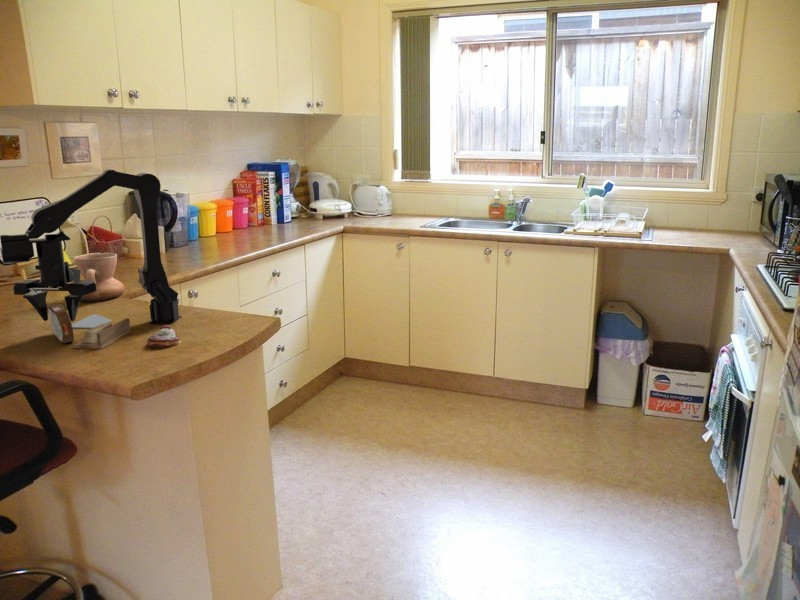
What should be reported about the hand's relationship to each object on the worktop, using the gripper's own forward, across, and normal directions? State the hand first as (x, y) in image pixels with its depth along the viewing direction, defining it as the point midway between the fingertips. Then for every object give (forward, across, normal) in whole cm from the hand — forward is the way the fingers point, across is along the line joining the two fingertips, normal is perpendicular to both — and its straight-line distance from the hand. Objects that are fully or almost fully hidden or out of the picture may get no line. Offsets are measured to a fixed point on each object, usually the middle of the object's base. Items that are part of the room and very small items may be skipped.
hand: (59, 320), depth 165 cm
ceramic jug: (+5, +14, -42) cm, 44 cm away
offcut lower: (+4, -10, 0) cm, 11 cm away
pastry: (+5, -28, +3) cm, 29 cm away
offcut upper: (+3, -10, 0) cm, 10 cm away
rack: (+5, -11, 0) cm, 12 cm away
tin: (+5, 0, 0) cm, 5 cm away
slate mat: (+5, 0, -19) cm, 20 cm away
